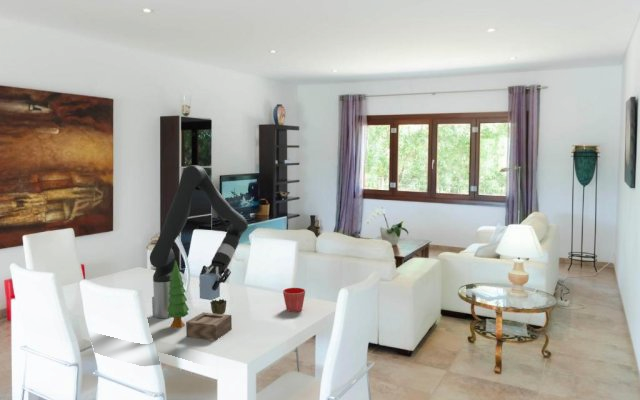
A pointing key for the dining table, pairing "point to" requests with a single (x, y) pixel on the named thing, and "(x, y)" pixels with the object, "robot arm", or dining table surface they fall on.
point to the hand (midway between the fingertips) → (207, 288)
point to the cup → (218, 306)
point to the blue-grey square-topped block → (208, 286)
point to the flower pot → (294, 299)
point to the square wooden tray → (208, 326)
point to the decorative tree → (177, 298)
